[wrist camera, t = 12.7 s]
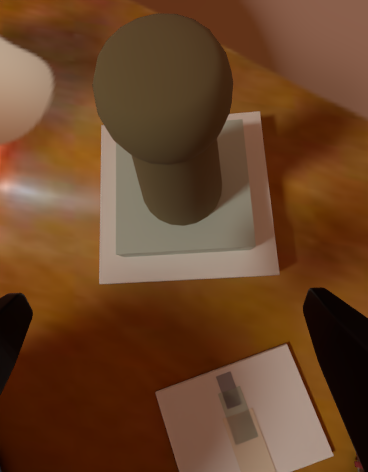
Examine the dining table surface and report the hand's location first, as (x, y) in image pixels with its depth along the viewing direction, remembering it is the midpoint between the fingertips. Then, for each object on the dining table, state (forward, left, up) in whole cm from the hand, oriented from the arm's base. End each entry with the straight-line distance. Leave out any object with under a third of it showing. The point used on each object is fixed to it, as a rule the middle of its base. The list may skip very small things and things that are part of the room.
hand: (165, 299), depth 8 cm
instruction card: (-11, 0, -13) cm, 17 cm away
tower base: (+7, -3, -13) cm, 16 cm away
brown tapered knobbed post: (+7, -2, -10) cm, 12 cm away
